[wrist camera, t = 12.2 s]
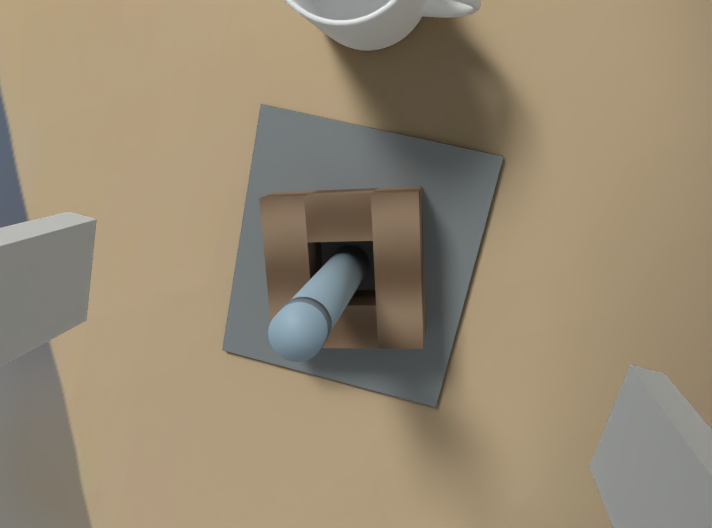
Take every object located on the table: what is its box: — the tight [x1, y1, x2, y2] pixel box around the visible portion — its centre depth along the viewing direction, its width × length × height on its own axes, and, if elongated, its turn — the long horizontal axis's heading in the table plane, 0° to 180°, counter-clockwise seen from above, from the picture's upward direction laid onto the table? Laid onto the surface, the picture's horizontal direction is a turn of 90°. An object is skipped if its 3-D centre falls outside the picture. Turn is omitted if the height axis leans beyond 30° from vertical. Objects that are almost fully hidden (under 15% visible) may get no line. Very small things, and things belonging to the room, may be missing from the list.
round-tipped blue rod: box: [268, 245, 369, 362], centre depth 36 cm, size 3×3×16 cm
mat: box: [222, 104, 503, 407], centre depth 44 cm, size 20×18×1 cm
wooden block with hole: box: [259, 186, 426, 349], centre depth 42 cm, size 11×11×4 cm
